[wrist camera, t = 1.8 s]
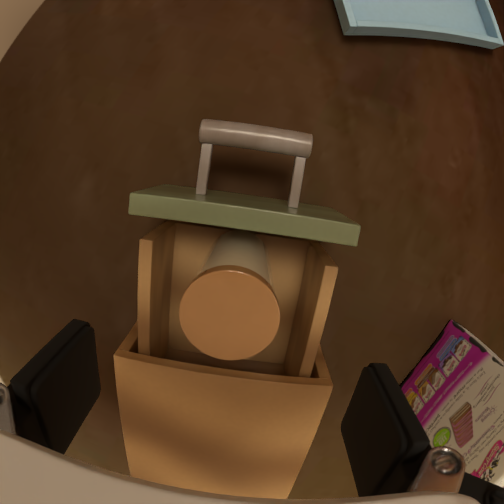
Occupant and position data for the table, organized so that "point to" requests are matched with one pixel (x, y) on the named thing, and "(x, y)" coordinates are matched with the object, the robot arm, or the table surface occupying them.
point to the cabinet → (216, 423)
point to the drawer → (241, 217)
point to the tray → (422, 20)
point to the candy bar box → (462, 400)
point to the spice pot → (232, 299)
